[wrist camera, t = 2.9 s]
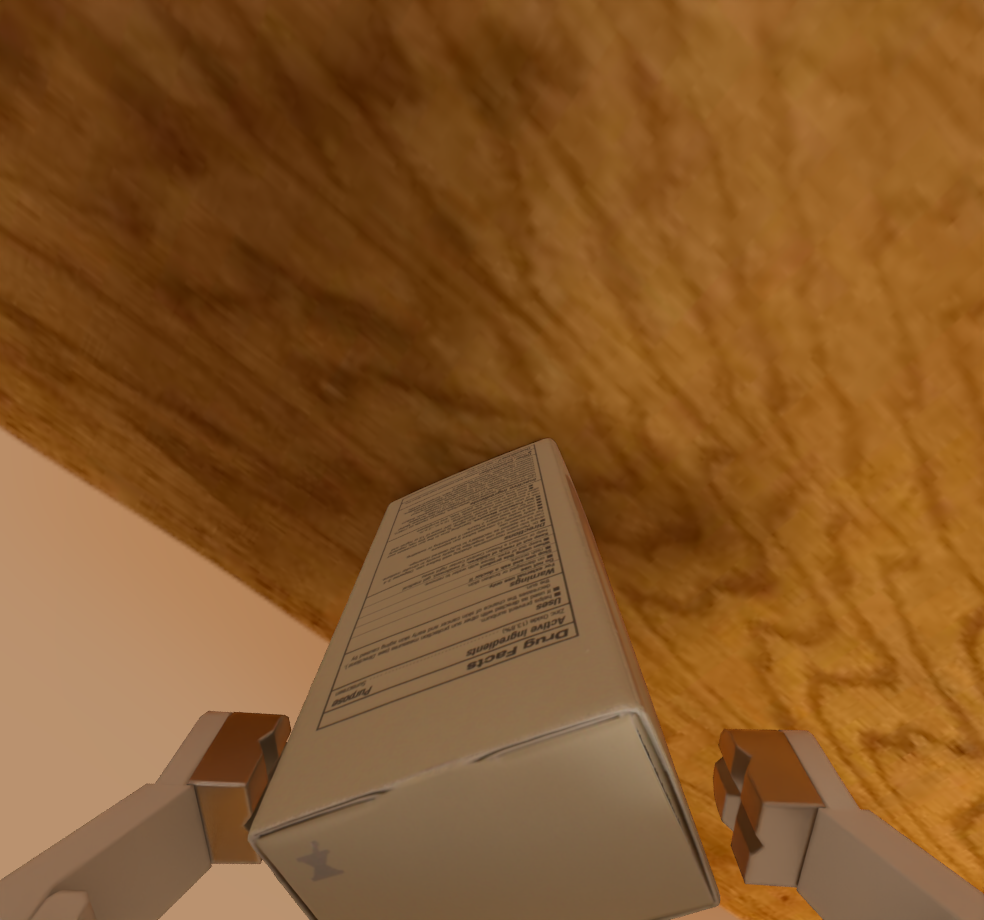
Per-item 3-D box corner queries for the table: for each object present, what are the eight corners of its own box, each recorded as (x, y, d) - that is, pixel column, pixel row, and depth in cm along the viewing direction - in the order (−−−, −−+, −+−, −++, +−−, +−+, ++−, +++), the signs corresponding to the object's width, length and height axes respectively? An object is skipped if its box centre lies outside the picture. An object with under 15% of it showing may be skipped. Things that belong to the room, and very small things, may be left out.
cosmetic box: (439, 599, 21) (358, 1017, 10) (385, 499, 20) (215, 845, 8) (606, 538, 20) (738, 925, 9) (561, 428, 19) (645, 712, 7)
